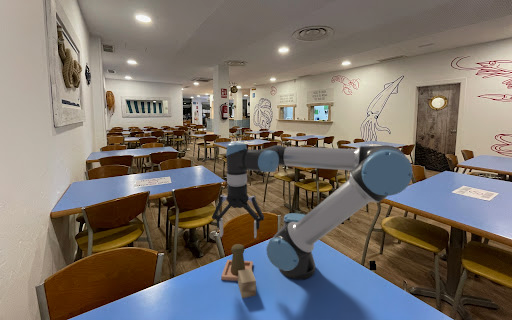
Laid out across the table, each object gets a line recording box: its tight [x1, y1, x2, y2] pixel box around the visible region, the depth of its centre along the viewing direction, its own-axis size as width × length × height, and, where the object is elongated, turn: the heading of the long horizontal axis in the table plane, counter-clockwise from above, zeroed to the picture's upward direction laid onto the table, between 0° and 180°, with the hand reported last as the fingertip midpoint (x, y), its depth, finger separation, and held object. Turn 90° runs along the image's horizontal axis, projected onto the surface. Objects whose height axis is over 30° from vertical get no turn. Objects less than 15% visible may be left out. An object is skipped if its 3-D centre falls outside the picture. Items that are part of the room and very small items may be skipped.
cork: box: [231, 243, 245, 275], centre depth 97 cm, size 6×6×11 cm
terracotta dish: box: [220, 259, 254, 282], centre depth 98 cm, size 11×11×1 cm
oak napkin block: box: [237, 268, 257, 299], centre depth 87 cm, size 5×7×6 cm
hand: (238, 235), depth 95 cm, fingers open, 13 cm apart
